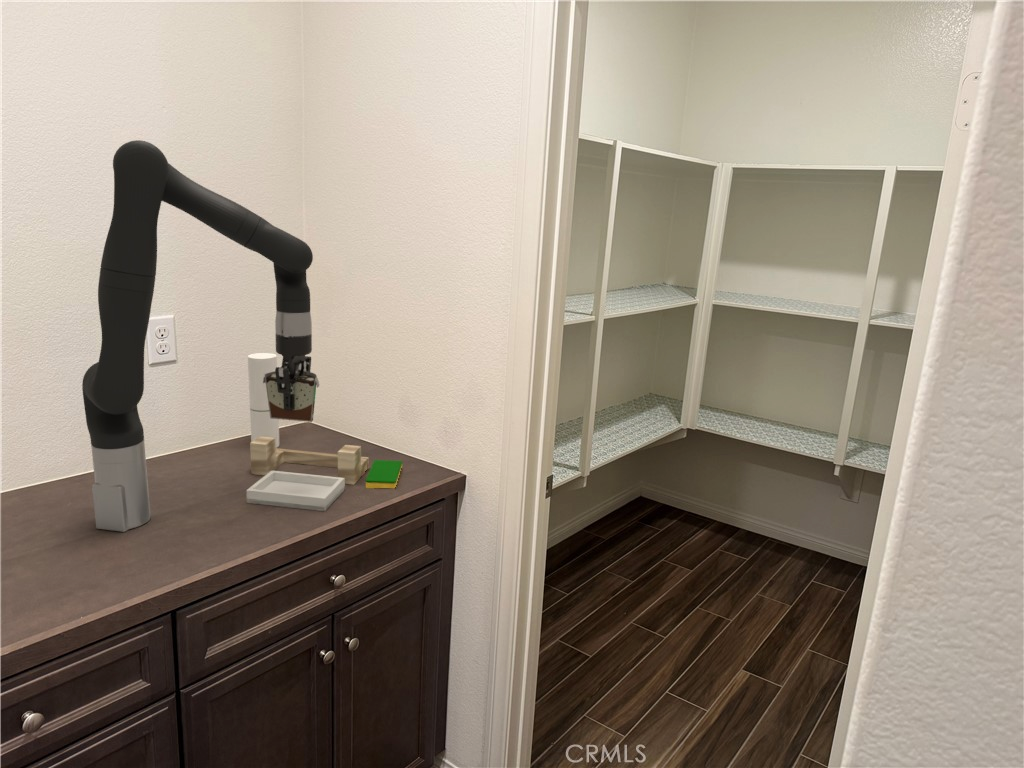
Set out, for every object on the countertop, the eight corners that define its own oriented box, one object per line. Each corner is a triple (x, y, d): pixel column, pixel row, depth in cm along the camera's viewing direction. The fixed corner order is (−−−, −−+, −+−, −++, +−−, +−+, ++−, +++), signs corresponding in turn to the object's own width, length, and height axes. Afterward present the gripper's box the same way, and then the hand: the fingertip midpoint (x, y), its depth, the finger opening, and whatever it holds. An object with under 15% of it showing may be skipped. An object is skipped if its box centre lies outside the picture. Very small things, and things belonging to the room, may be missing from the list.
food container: (327, 414, 159) (327, 371, 156) (318, 422, 153) (317, 378, 150) (275, 410, 159) (274, 367, 157) (263, 417, 153) (262, 374, 151)
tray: (324, 511, 152) (324, 498, 151) (247, 502, 154) (246, 490, 153) (344, 489, 163) (344, 477, 163) (272, 482, 165) (271, 470, 165)
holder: (354, 484, 167) (353, 453, 165) (251, 473, 170) (250, 443, 168) (368, 468, 177) (368, 438, 175) (271, 458, 180) (270, 429, 178)
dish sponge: (402, 469, 179) (402, 460, 178) (395, 490, 166) (395, 481, 165) (374, 468, 179) (374, 459, 178) (365, 489, 165) (365, 480, 165)
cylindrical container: (285, 445, 190) (282, 355, 184) (263, 452, 184) (259, 360, 178) (267, 439, 194) (264, 351, 187) (245, 446, 188) (241, 355, 182)
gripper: (290, 325, 158) (291, 397, 162) (261, 335, 144) (263, 414, 148) (322, 327, 157) (322, 400, 161) (296, 338, 143) (297, 417, 148)
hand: (294, 406), depth 155 cm, fingers closed on food container, 5 cm apart
